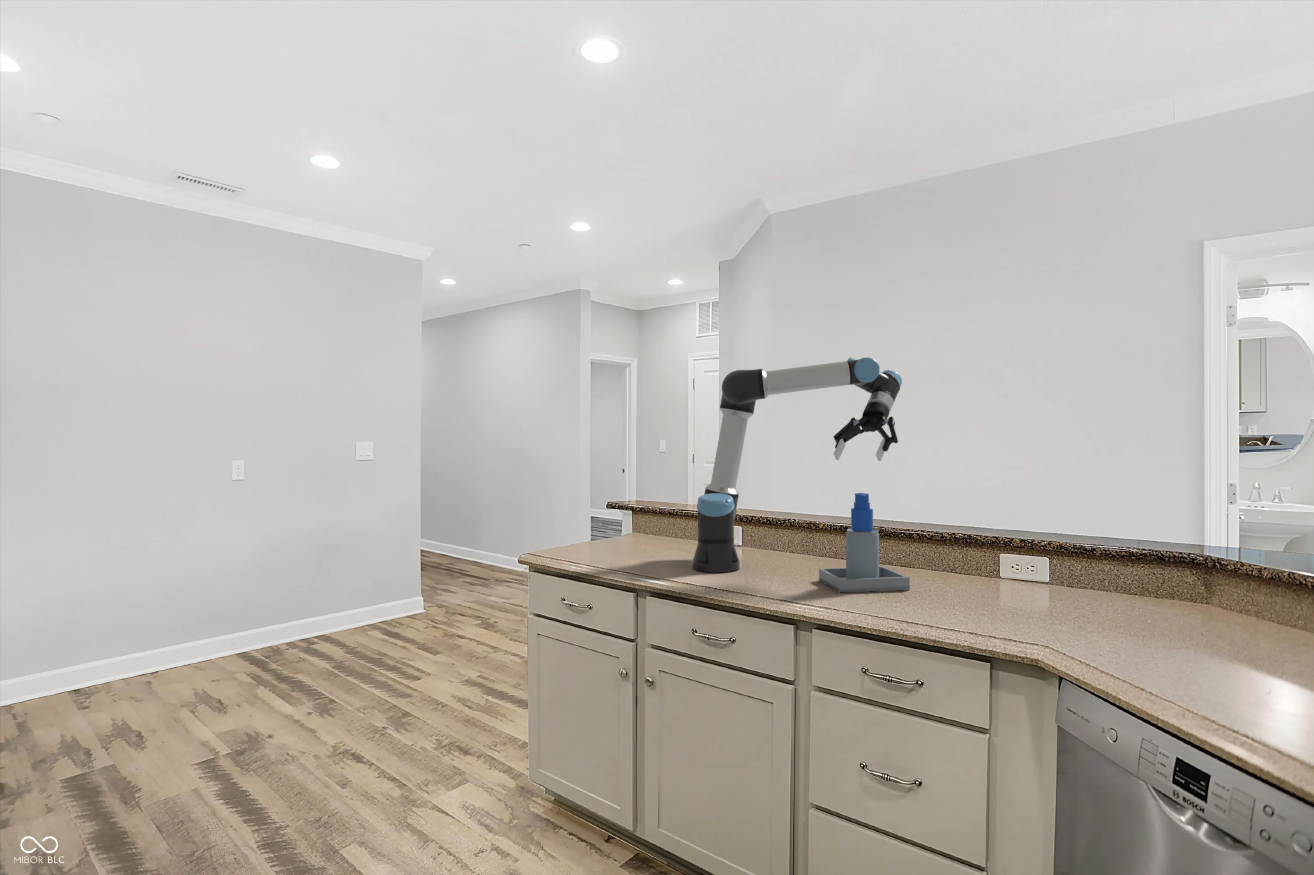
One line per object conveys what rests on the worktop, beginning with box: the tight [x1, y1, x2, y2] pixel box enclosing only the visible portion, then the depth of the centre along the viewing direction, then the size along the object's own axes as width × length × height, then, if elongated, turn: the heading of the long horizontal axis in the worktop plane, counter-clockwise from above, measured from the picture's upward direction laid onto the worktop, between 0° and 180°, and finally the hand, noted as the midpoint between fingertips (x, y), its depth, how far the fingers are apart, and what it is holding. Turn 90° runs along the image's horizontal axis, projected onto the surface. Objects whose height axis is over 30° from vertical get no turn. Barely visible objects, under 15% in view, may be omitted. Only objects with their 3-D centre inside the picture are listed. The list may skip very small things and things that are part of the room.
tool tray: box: [818, 566, 911, 593], centre depth 183 cm, size 15×20×4 cm
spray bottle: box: [845, 492, 880, 579], centre depth 183 cm, size 9×9×25 cm
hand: (856, 457), depth 196 cm, fingers open, 13 cm apart
